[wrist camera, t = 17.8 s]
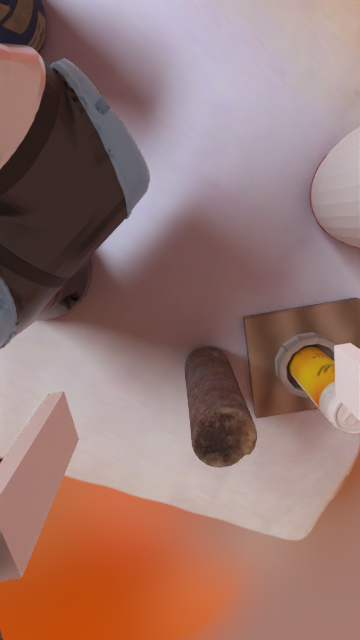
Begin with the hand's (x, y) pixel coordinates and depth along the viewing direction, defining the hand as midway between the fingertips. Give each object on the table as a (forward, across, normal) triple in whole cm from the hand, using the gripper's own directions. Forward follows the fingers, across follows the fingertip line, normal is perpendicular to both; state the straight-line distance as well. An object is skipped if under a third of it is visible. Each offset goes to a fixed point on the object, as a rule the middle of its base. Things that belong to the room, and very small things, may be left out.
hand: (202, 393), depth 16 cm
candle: (+35, +2, -15) cm, 38 cm away
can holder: (+35, +18, -17) cm, 43 cm away
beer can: (+34, +18, -17) cm, 42 cm away
